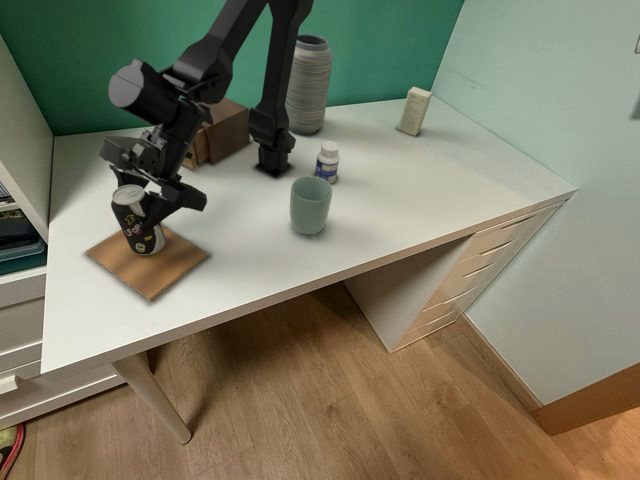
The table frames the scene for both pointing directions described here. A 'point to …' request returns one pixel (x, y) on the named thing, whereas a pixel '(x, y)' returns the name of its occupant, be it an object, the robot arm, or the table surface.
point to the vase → (308, 84)
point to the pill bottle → (327, 161)
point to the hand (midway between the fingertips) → (130, 223)
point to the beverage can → (136, 219)
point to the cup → (310, 204)
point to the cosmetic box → (414, 110)
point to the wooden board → (147, 262)
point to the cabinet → (226, 129)
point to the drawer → (197, 150)
